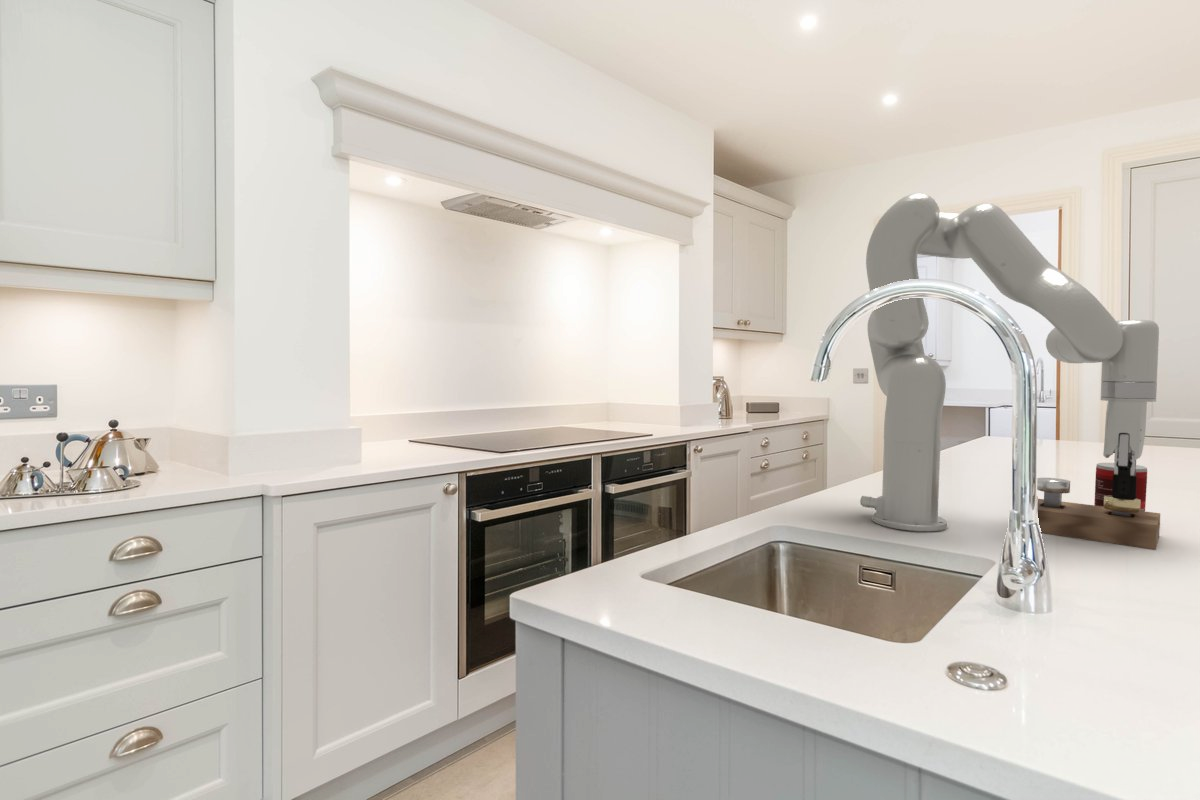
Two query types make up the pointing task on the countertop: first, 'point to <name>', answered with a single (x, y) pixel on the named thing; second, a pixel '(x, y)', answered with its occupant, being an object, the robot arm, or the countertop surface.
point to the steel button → (1053, 490)
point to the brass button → (1121, 506)
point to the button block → (1100, 524)
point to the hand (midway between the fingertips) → (1124, 497)
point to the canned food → (1106, 480)
